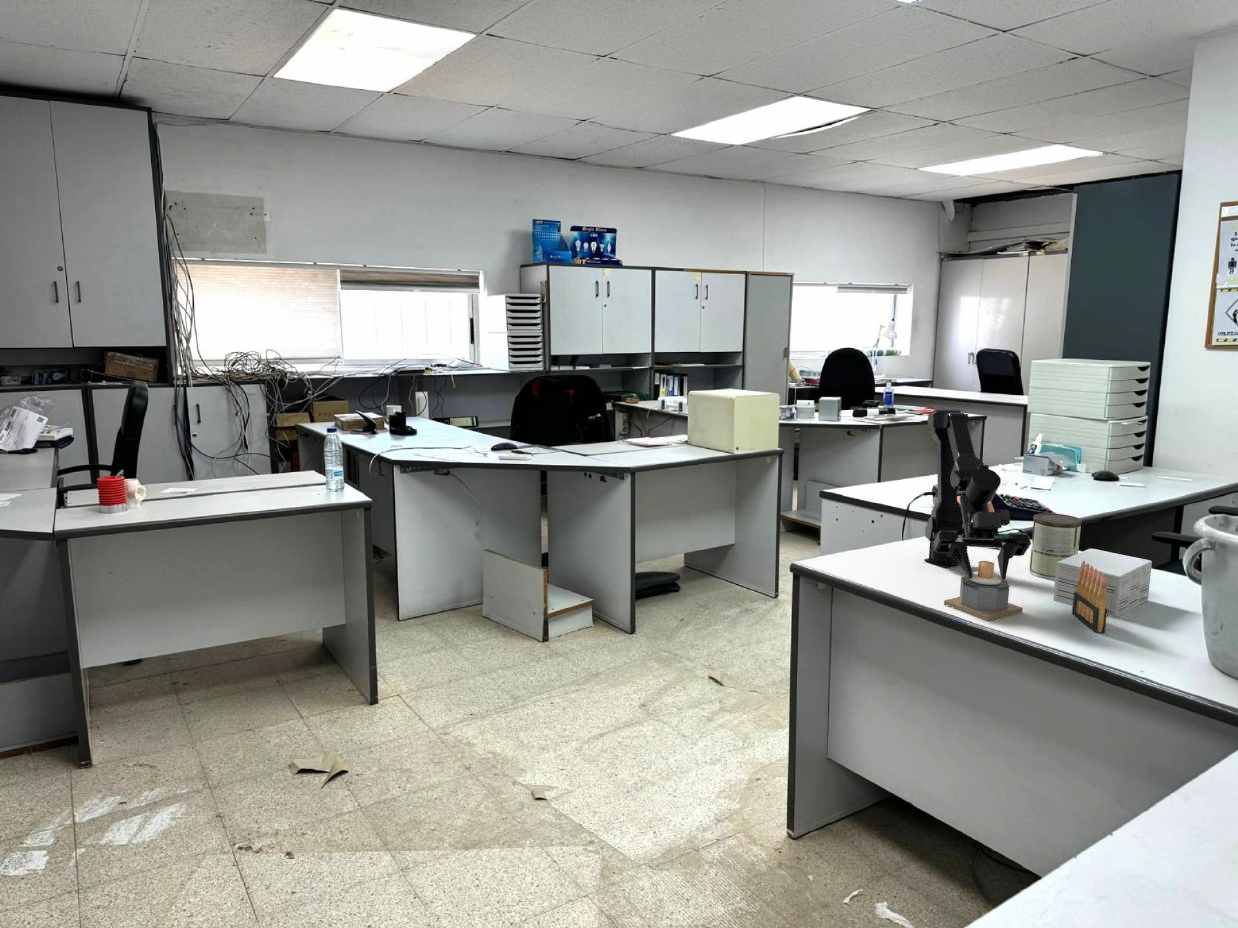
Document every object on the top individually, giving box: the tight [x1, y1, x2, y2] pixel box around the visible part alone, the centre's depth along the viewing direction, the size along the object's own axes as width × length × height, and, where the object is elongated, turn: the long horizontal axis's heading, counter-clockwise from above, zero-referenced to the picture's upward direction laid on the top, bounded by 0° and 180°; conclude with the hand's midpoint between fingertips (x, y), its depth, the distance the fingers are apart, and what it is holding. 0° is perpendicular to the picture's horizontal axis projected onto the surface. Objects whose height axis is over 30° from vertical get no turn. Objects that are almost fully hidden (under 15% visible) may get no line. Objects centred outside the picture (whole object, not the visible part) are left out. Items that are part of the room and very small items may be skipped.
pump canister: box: [943, 575, 1024, 622], centre depth 175 cm, size 11×11×6 cm
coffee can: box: [1028, 512, 1083, 581], centre depth 198 cm, size 10×10×14 cm
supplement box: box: [1053, 547, 1153, 618], centre depth 180 cm, size 17×13×9 cm
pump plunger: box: [969, 560, 1002, 585], centre depth 175 cm, size 6×6×9 cm
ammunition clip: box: [1071, 561, 1108, 634], centre depth 166 cm, size 11×2×12 cm, turn 174°
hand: (987, 578), depth 173 cm, fingers closed on pump plunger, 6 cm apart
